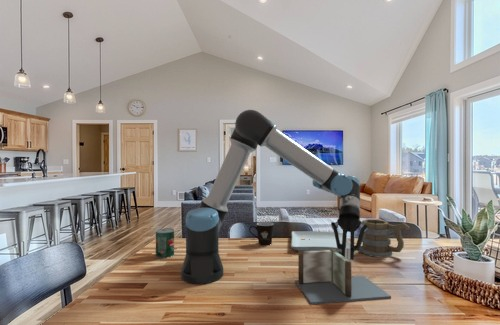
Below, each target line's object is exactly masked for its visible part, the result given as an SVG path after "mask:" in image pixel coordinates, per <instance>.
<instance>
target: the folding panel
mask: <svg viewBox="0 0 500 325" xmlns="http://www.w3.org/2000/svg"><path fill="white" fill-rule="evenodd" d="M341 254H342V253H338V252H333V283H334V284H335V285H336V286H337V287H338V288H339V289H340V290H341V291H342V292H343V293H344V294H345V295H346V296H348V297H351V296H352V286H351V276H352V260H348V259H346V258H345V257H344V256H342V255H341Z"/></svg>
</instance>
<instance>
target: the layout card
mask: <svg viewBox="0 0 500 325" xmlns="http://www.w3.org/2000/svg"><path fill="white" fill-rule="evenodd" d="M294 283H295V284H296V286H298V288H299V289H300V291H301V292H302V293H303V295H304V297H305V298H306V299H307V301H308V302H309V304H310V305H318V304H319V305H320V304H321V305H322V304H331V303H332V304H333V303H346V302H356V301H357V302H359V301H370V300H371V301H372V300H383V299H384V300H386V299H392V296H391V295H390V294H389V293H387V292H386V291H385V290H383V289H382V288H381V287H379V286H378V284H375V283H374V282H372V281H371V280H370V279H369V278H367V277H366V276H364V275H354V276H352V275H351V286H352V296H351V297H348V296H346V295H345V294H344V293H343V292H342V291H341V290H340V289H339V288H338V287H337V286H336V285H335V284H334V283H333V282H331V281H327V282H312V283H304V284H299V283H298V279H295V280H294Z"/></svg>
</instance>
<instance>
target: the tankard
mask: <svg viewBox="0 0 500 325" xmlns="http://www.w3.org/2000/svg"><path fill="white" fill-rule="evenodd" d="M361 224H363V225H367V231H366V232H365V233H364V237H363V240H362V244H361V247H360V250H359V251H360V252H361V253H363V255H366V254H367V255H366V256H370V255H371V257H374V256H375V258H388V257H390V256H392V255H393V253H401V252H402V250H403V249H404V246H405V245H404V244H405V242H404V239H403V237H402V231H401V230H402V229H404V230H406V231H407V230H409V229H410V227H411V226H409V225H408V224H406V223H405V222H402V223H399V224H394V225H393V224H390V223H389V222H388V221H386V220H383V219H382V220H381V219H374V218H372V219H370V218H369V219H368V218H367V219H364V220H362V221H361ZM392 230H394V235H395V239H396V241H397V246H393V245H391V239H390V234H391V231H392Z"/></svg>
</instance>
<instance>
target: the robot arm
mask: <svg viewBox="0 0 500 325" xmlns="http://www.w3.org/2000/svg"><path fill="white" fill-rule="evenodd" d="M229 141H230V143H231V145H230V146H229V148H228V151H227V153H226V155H225V157H224V159H223V162H222V163H221V167H220V169H219V171H218V173H217V175H216V178H215V179H214V182H213V184H212V186H211V188H210V191H209V193H208V195H207V197H205V198H202V199H201V202H200V204H199V206H198V207H197V208H194V209H191V210H189V211H188V212H187V213H186V215H185V221H184V222H185V256H184V259H183V263H182V266H181V270H180V278H181V280H182V281H184V282H186V283H189V284H197V285H199V284H201V285H202V284H208V283H213V282H215V281H218V280H220V279H221V278H222V277H223V276H224V266H223V262H222V260H221V257H220V253H219V252H220V251H219V232H220V230H221V228H222V226H223V224H224V220H225V219H226V217H227V214H228V212H229V208H228V206H227V205H228V203H229V200H230V199H231V197H232V194H233V193H234V192H233V191H234V190H235V188H236V186H237V183H238V181H239V179H240V177H241V175H242V172H243V170H244V169H245V165H246V163H247V161H248V159H249V156H250V154H251V153H253V152H255V151H256V150H257V148H258V146H259V147H266V148H267V149H269V150H270V151H271V152H273V153H274V154H276V155H277V156H278V157H280V158H281V159H283V160H285V162H287V163H288V164H290V165H291V166H293V167H294V168H296V169H297V170H298V171H300V172H302V173H303V174H305V176H307V177H309V178H310V179H312V186H313V187H316V188H317V189H318V190H322V191H325V192H328V193H331V194H333V195H335V196H337V197H339V209H338V211H339V212H338V218H337V220H336V221H335V222H334V221H332V222H331V223H330V225H331V226H330V227H331V228H332V230H333V232H334V234H335V239H336V244H337V248H338V249H341V250H342V253H340V254H341V255H342V256H344V257H345V258H346V259H348V260H350V261H354V260H355V252H359V251H360V247H361V246H362V244H363V242H362V240H363V237H364V233H365V232H366V231H367V225H363V224H362V221H361V219H360V218H361V217H360V216H361V200H360V199H361V184H360V180H359V179H358V177H356V176H354V175H352V176H351V175H346V174H343V173H340V172H339V171H337V169H335V168H333V167H332V166H330V165H329V164H328V163H326V162H324V160H322V159H320V158H319V157H317V156H316V155H315V154H313V153H312V152H310V151H309V150H307V149H306V148H304V147H303V146H302V145H300V144H299V143H298V142H296V141H295V140H294V139H292V138H290V137H289V136H288V135H286V134H285V133H283V132H282V131H281V130H279V129H277V124H275V123H274V122H273V121H271V120H270V119H268V118H267V117H266V116H264V114H262V112H259V111H258V110H255V109H246V110H244V111H242V112H241V113H239V114H238V115H237V117H236V119H235V122H234V129H233V132H231V135H230V138H229ZM338 226H339V227H340V229H341V230H342V233H343V237H342V244H340V240H339V236H338V233H339V231H338ZM358 229H359V234H358V238H357V241H356V244H355V232H356V231H357V230H358ZM348 232H349V233H350V236H349V237H350V241H349V242H350V248H346V238H347V237H348V236H347V235H348Z"/></svg>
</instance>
